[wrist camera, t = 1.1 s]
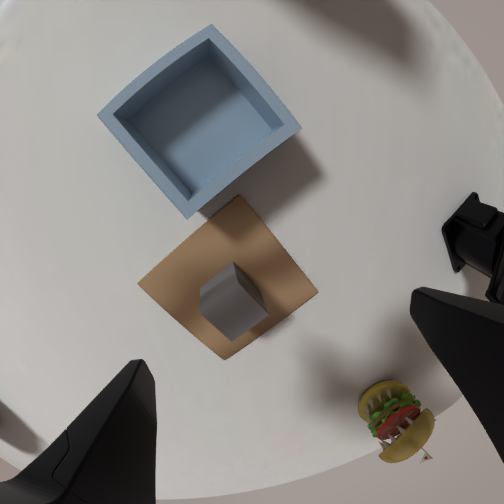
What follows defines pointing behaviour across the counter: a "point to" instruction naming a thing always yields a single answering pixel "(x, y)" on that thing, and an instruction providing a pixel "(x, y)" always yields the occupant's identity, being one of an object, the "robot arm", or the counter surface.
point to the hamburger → (396, 420)
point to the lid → (229, 280)
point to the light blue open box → (198, 119)
